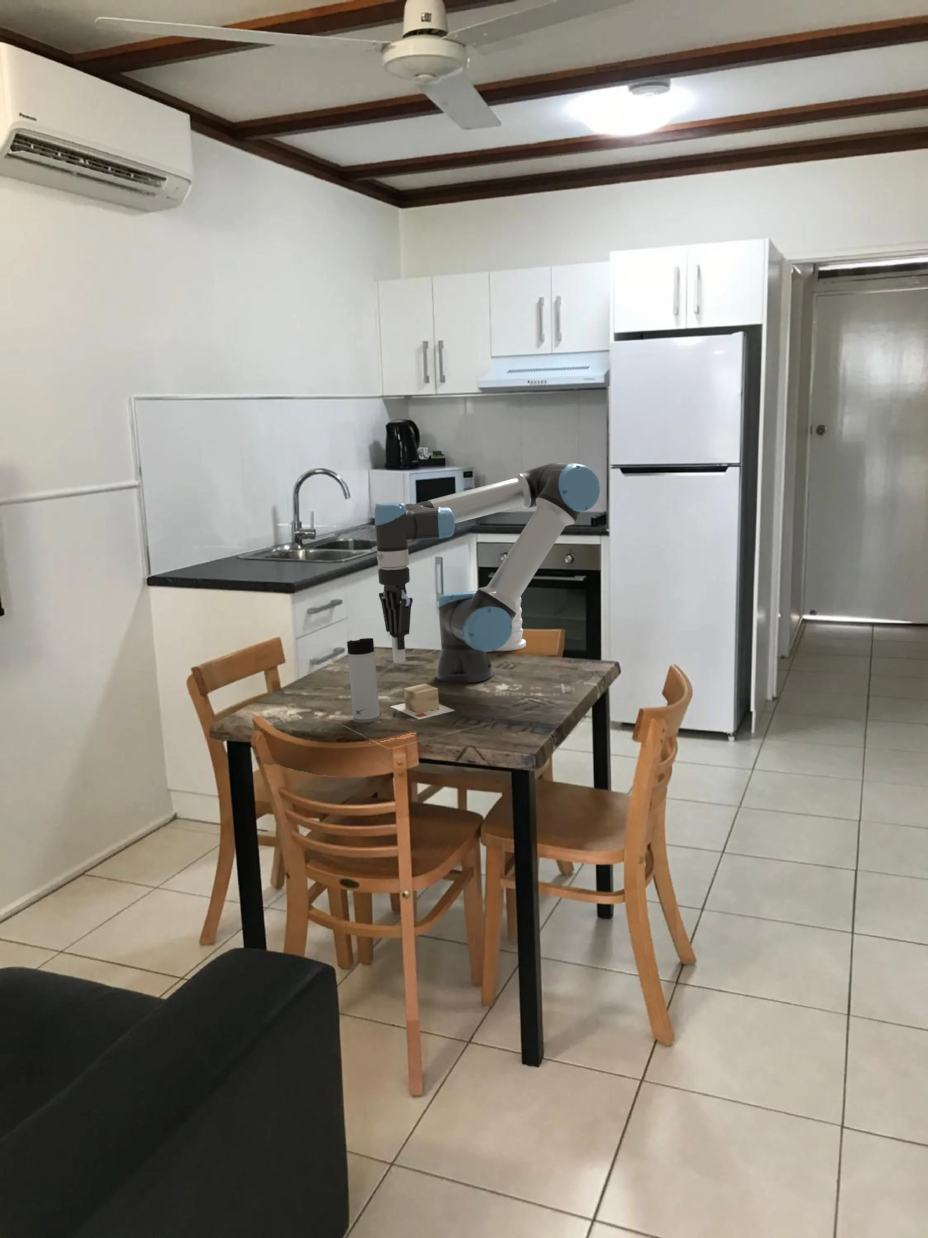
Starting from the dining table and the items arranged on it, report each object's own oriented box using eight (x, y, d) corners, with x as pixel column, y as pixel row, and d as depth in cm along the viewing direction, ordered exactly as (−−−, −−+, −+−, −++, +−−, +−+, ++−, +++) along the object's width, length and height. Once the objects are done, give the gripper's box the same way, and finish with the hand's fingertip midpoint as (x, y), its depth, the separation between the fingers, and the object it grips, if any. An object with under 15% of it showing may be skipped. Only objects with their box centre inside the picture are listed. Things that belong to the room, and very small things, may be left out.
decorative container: (491, 652, 294) (488, 592, 290) (484, 643, 305) (481, 585, 301) (529, 648, 295) (526, 588, 292) (521, 640, 307) (518, 582, 303)
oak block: (405, 708, 242) (403, 688, 241) (426, 703, 245) (425, 683, 244) (417, 713, 237) (416, 693, 236) (439, 708, 241) (437, 688, 239)
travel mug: (359, 726, 232) (352, 642, 227) (349, 719, 237) (342, 637, 233) (384, 721, 234) (378, 638, 230) (373, 714, 240) (367, 633, 236)
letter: (390, 707, 245) (390, 706, 245) (425, 699, 250) (425, 698, 250) (419, 720, 233) (419, 719, 233) (455, 711, 238) (455, 710, 238)
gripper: (367, 566, 245) (373, 659, 250) (393, 571, 235) (399, 669, 239) (394, 562, 249) (399, 654, 254) (420, 568, 238) (426, 663, 243)
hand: (399, 661), depth 247 cm, fingers closed
